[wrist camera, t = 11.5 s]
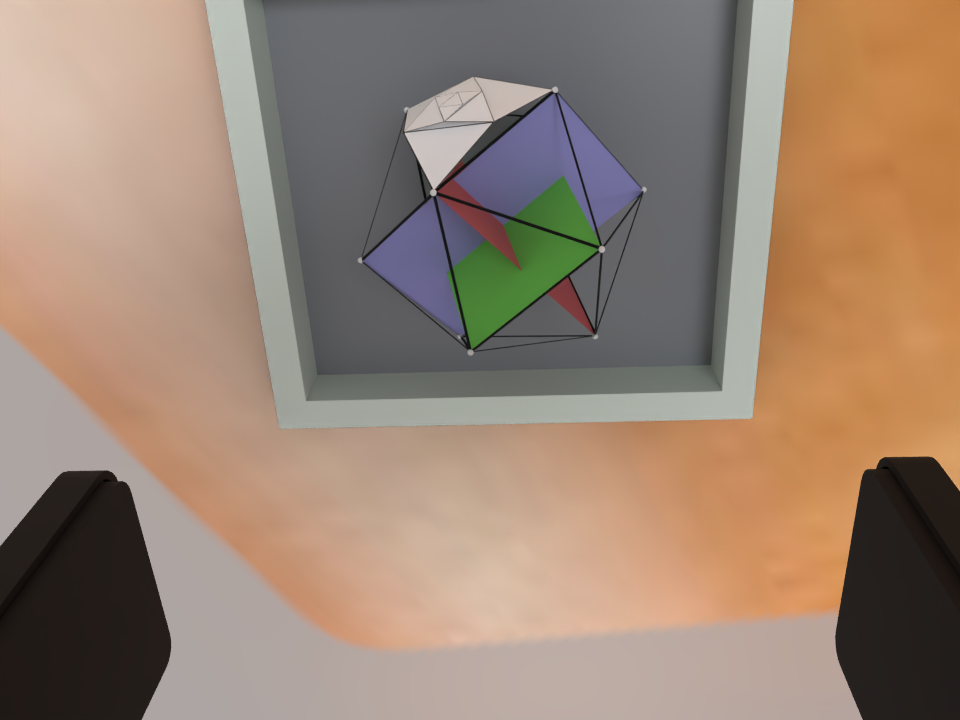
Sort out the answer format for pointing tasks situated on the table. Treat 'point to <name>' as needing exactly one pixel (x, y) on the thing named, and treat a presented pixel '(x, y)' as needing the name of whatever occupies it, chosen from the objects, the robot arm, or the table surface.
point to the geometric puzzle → (501, 209)
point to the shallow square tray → (429, 71)
